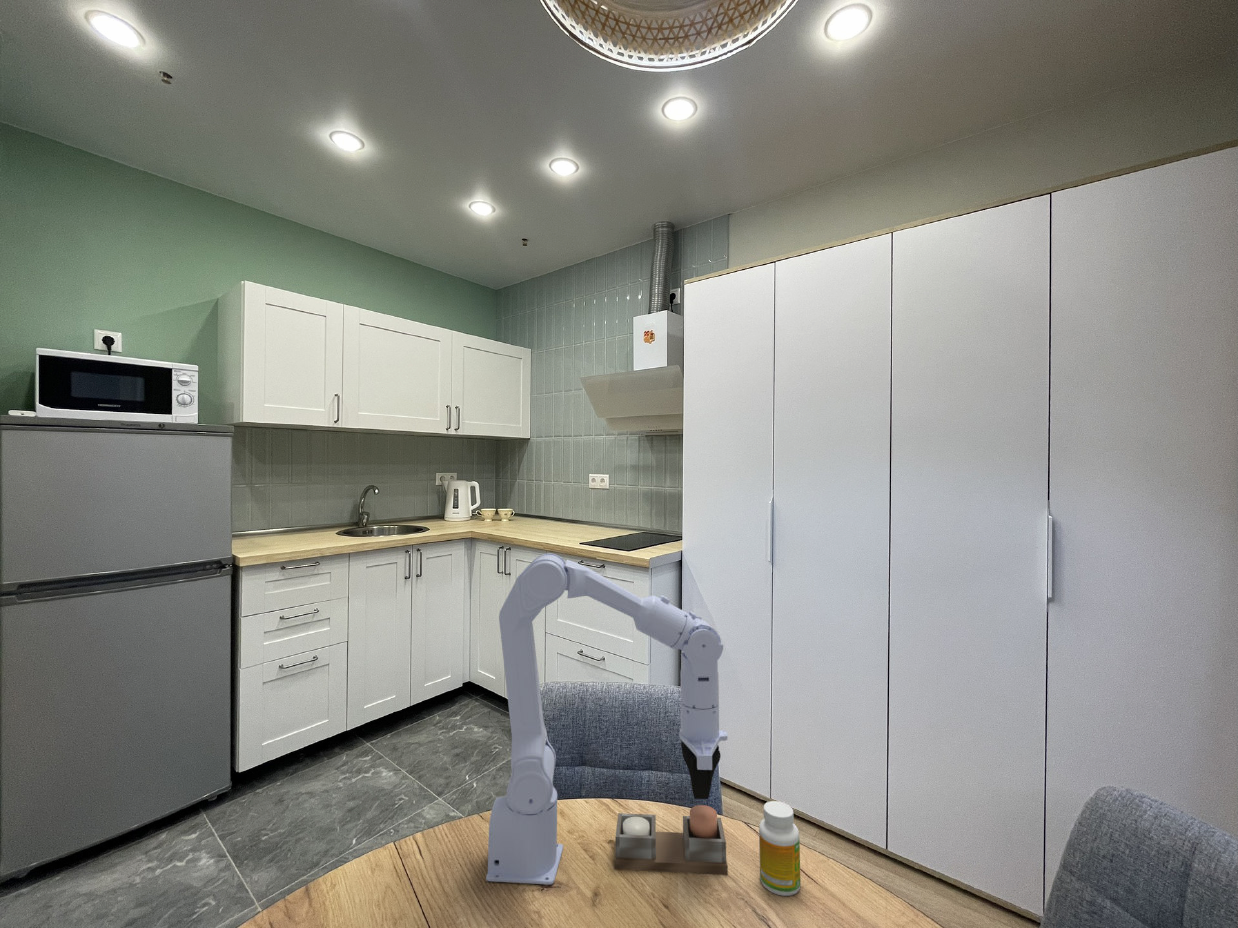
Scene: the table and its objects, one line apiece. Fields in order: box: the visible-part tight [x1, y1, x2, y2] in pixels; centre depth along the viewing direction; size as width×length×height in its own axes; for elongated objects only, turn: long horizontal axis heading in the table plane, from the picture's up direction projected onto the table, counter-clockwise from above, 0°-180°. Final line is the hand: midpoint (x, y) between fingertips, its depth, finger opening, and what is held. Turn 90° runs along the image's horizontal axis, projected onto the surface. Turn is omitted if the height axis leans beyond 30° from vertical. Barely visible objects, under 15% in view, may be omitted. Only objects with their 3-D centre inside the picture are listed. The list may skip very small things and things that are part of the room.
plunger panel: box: [613, 812, 729, 876], centre depth 77 cm, size 16×7×4 cm, turn 86°
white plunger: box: [623, 817, 650, 836], centre depth 77 cm, size 4×4×2 cm
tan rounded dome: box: [689, 804, 718, 838], centre depth 77 cm, size 4×4×2 cm
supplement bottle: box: [758, 800, 802, 897], centre depth 72 cm, size 5×5×10 cm
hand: (700, 796), depth 77 cm, fingers closed
